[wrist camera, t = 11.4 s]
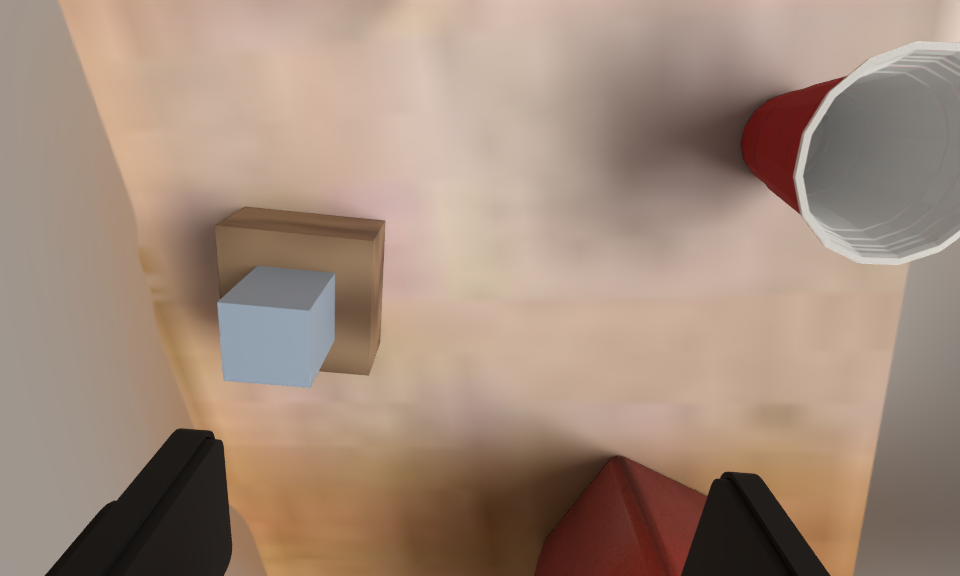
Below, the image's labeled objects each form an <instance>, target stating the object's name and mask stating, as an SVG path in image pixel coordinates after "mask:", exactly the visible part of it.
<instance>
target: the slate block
mask: <svg viewBox="0 0 960 576" xmlns="http://www.w3.org/2000/svg"><path fill="white" fill-rule="evenodd" d="M217 308H218V320H219V332H220V344H221V356H222V368H223V380H224V381H233V382H245V383H257V384H269V385H281V386H293V387H305V388H310V387H311V385H312V383H313V381H314V379H315V378H316V376H317V374H318V372H319V370H320V368H321V366H322V364H323V362H324V360H325V358H326V356H327V354H328V352H329V350H330V348H331V346H332V344H333V342H334V340H335V273H330V272H320V271H309V270H299V269H288V268H277V267H267V266H257V267H256V268H254V269H253V270H252V271H251V272H250V273H249V274H248V275H247V276H246V277H245V278H243V279H242V280H241V281H240V282H239V283H238V284H237V285H236V286H235V287H234V288H232V289H231V290H230V291H229V292H228V293H227V294H226V295H225V296H224V297H222V298H221V299H220V300H219V301H218V302H217Z"/></svg>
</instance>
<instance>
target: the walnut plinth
mask: <svg viewBox="0 0 960 576" xmlns="http://www.w3.org/2000/svg"><path fill="white" fill-rule="evenodd" d="M215 236H216V249H217V261H218V274H219V287H220V299H221V298H222V297H224V296H225V295H226V294H227V293H228V292H229V291H230V290H231V289H232V288H234V287H235V286H236V285H237V284H238V283H239V282H240V281H241V280H242V279H243V278H245V277H246V276H247V275H248V274H249V273H250V272H251V271H252V270H253V269H254V268H256V267H257V266H267V267H277V268H288V269H299V270H309V271H320V272H330V273H335V340H334V342H333V344H332V346H331V348H330V350H329V352H328V354H327V356H326V358H325V360H324V362H323V364H322V366H321V368H320V370H319V371H323V372H334V373H346V374H358V375H369V373H370V371H371V368H372V365H373V362H374V359H375V356H376V353H377V350H378V347H379V344H380V332H381V309H382V285H383V262H384V238H385V221H381V220H371V219H361V218H351V217H341V216H331V215H321V214H311V213H301V212H291V211H281V210H271V209H261V208H251V207H245V208H243V209H241V210H240V211H238V212H236V213H235V214H233V215H231V216H230V217H228V218H226V219H225V220H223V221H221V222H220V223H218V224H216V225H215Z"/></svg>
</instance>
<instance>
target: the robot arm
mask: <svg viewBox="0 0 960 576" xmlns="http://www.w3.org/2000/svg"><path fill="white" fill-rule="evenodd" d="M231 554H232V538H231V527H230V515H229V504H228V492H227V480H226V469H225V457H224V446H223V442H222V440H217V439H215V437H214V434H213V432H212V431H207V430H194V429H181V428H180V429H177V430H175V431H174V432H173V433H172V434H171V436H170V437H169V438H168V439H167V441H166V442H165V443H164V444H163V446H162V447H161V448H160V449H159V450H158V451H157V453H156V454H155V455H154V456H153V457H152V459H151V460H150V461H149V462H148V463H147V465H146V466H145V467H144V468H143V470H142V471H141V472H140V473H139V474H138V476H137V477H136V478H135V479H134V480H133V482H132V483H131V484H130V485H129V487H128V488H127V489H126V490H125V491H124V493H123V494H122V495H121V496H120V497H119V499H118V500H117V501H112V502H110V503H108V504H107V505H105V507H103V508H102V509H101V510H100V511H99V513H98V514H97V515H96V516H95V517H94V518H93V519H92V521H91V522H90V523H89V524H88V525H87V526H86V528H85V529H84V530H83V531H82V533H81V534H80V535H79V536H78V537H77V538H76V539H75V541H74V542H73V543H72V544H71V545H70V547H69V548H68V549H67V550H66V551H65V552H64V554H63V555H62V556H61V557H60V559H59V560H58V561H57V562H56V563H55V564H54V565H53V567H52V568H51V569H50V570H49V572H48V573H47V574H46V575H45V576H224V574H225V572H226V570H227V568H228V565H229V562H230V559H231ZM681 576H830V574H829V573H828V572H827V570H826V569H825V567H824V566H823V565H822V563H821V562H820V560H819V559H818V558H817V556H816V555H815V553H814V552H813V550H812V549H811V548H810V546H809V545H808V543H807V542H806V541H805V539H804V538H803V536H802V535H801V533H800V532H799V531H798V529H797V528H796V526H795V525H794V524H793V522H792V521H791V519H790V518H789V517H788V515H787V514H786V512H785V511H784V509H783V508H782V507H781V505H780V504H779V502H778V501H777V500H776V498H775V497H774V495H773V494H772V492H771V491H770V490H769V488H768V487H767V485H766V484H765V483H764V481H763V480H762V479H761V478H760V477H759V476H758V475H756V474H751V473H738V472H724V473H723V474H722V476H721V478H720V479H715V480H714V481H713V483H712V485H711V488H710V491H709V494H708V496H707V499H706V502H705V505H704V508H703V511H702V514H701V517H700V520H699V523H698V526H697V529H696V532H695V535H694V538H693V541H692V544H691V547H690V550H689V553H688V556H687V559H686V562H685V564H684V567H683V570H682V573H681Z"/></svg>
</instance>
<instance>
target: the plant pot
mask: <svg viewBox="0 0 960 576" xmlns="http://www.w3.org/2000/svg"><path fill="white" fill-rule="evenodd" d="M706 499H707V496H705V495H703V494H701V493H699V492H697V491H695V490H693V489H691V488H689V487H686V486H684V485H682V484H680V483H678V482H676V481H674V480H672V479H670V478H668V477H665V476H663V475H661V474H659V473H657V472H655V471H653V470H651V469H649V468H647V467H645V466H643V465H640V464H638V463H636V462H634V461H632V460H630V459H628V458H626V457H615V458H613V459H611V460H610V461H609V462H608V463H607V464H606V465H605V467H604V468H603V469H602V470H601V472H600V473H599V474H598V476H597V477H596V478H595V479H594V480H593V482H592V483H591V484H590V485H589V487H588V488H587V489H586V490H585V492H584V493H583V494H582V495H581V497H580V498H579V499H578V500H577V502H576V503H575V504H574V505H573V507H572V508H571V509H570V510H569V512H568V513H567V514H566V515H565V517H564V518H563V519H562V520H561V522H560V523H559V524H558V525H557V527H556V528H555V529H554V530H553V532H552V533H551V534H550V535H549V537H548V538H547V539H546V540H545V542H544V544H543V547H542V550H541V553H540V556H539V559H538V563H537V567H536V570H535V574H534V576H681V573H682V570H683V567H684V564H685V562H686V559H687V556H688V553H689V550H690V547H691V544H692V541H693V538H694V535H695V532H696V529H697V526H698V523H699V520H700V517H701V514H702V511H703V508H704V505H705V502H706Z"/></svg>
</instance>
